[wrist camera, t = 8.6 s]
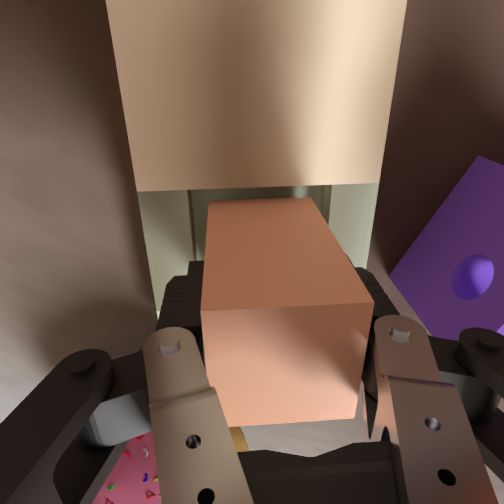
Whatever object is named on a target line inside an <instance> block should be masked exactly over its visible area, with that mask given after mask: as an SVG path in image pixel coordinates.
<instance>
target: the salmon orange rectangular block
mask: <svg viewBox="0 0 504 504" xmlns="http://www.w3.org/2000/svg"><path fill="white" fill-rule="evenodd" d="M373 308H374V300H373V299H372V297H371V295H370V294H369V292H368V290H367V289H366V287H365V285H364V284H363V282H362V281H361V279H360V277H359V276H358V274H357V272H356V271H355V269H354V267H353V266H352V264H351V262H350V261H349V259H348V257H347V256H346V254H345V252H344V251H343V249H342V248H341V246H340V244H339V243H338V241H337V239H336V238H335V236H334V234H333V233H332V231H331V229H330V228H329V226H328V224H327V223H326V221H325V219H324V218H323V216H322V215H321V213H320V211H319V210H318V208H317V206H316V205H315V203H314V201H313V200H312V198H311V197H301V198H274V199H246V200H218V201H209V206H208V219H207V232H206V245H205V258H204V272H203V285H202V298H201V311H200V312H201V322H202V333H203V343H204V354H205V365H206V374H207V377H208V380H209V384H210V386H211V387H212V386H214V387H215V389H216V392H217V394H218V397H219V400H220V403H221V406H222V409H223V412H224V415H225V418H226V421H227V424H228V427H239V426H253V425H267V424H280V423H294V422H308V421H322V420H336V419H350V418H354V417H355V411H356V405H357V399H358V394H359V388H360V382H361V377H362V371H363V365H364V360H365V354H366V348H367V342H368V337H369V331H370V325H371V320H372V314H373Z"/></svg>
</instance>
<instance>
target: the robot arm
mask: <svg viewBox="0 0 504 504" xmlns="http://www.w3.org/2000/svg"><path fill="white" fill-rule="evenodd" d="M346 256H347V254H346ZM347 257H348V256H347ZM348 259H349V257H348ZM349 261H350V262H351V260H350V259H349ZM351 264H352V262H351ZM352 266H353V267H354V265H353V264H352ZM354 269H355V271H356V272H357V274H358V276H359V277H360V279H361V281H362V282H363V284H364V285H365V287H366V289H367V290H368V292H369V294H370V295H371V297H372V299H373V300H374V308H373V314H372V320H371V325H370V331H369V337H368V342H367V348H366V354H365V360H364V365H363V371H362V377H361V379H362V381H363V390H362V405H363V418H364V431H365V442H362V443H352V444H350V445H347V446H344V447H341V448H338V449H336V450H333V451H330V452H327V453H324V454H322V455H319V456H316V457H304V456H298V455H293V454H287V453H281V452H275V451H269V450H257V451H244V452H237V451H236V448H235V445H234V442H233V439H232V436H231V433H230V430H229V427H228V424H227V421H226V418H225V415H224V412H223V409H222V406H221V403H220V400H219V397H218V394H217V392H216V389H215V387H214V386H212V387H211V386H210V384H209V380H208V377H207V374H206V365H205V354H204V343H203V333H202V322H201V312H200V311H201V298H202V285H203V272H204V260H199V261H189V265H188V272H187V275H181V276H174V277H173V278H172V279H171V280H170V281H169V282H168V283H167V284H166V288H165V292H164V296H163V301H162V305H161V309H160V314H159V318H158V323H157V327H156V331H155V332H154V333H153V334H151V335H150V336H149V337H148V338H147V339H146V340H145V342H144V344H143V349H141V350H140V351H138V352H136V353H133V354H131V355H128V356H124V357H121V358H117V359H114V360H111V357H110V355H109V354H108V353H107V352H105V351H103V350H99V349H86V350H82V351H78V352H75V353H73V354H71V355H69V356H68V357H66V358H65V359H63V360H62V361H61V362H60V363H59V364H58V365H57V366H56V367H55V368H54V369H53V370H52V371H51V372H50V373H49V374H48V375H47V376H46V377H45V378H44V379H43V380H42V381H41V382H40V383H39V384H38V385H37V386H36V387H35V389H34V390H33V391H32V392H31V393H30V394H29V395H28V396H27V397H26V398H25V399H24V400H23V401H22V402H21V403H20V404H19V405H18V406H17V407H16V408H15V409H14V410H13V411H12V412H11V413H10V414H9V416H8V417H7V418H6V419H5V420H4V421H3V422H2V423H1V424H0V504H92V503H93V501H94V499H95V497H96V496H97V494H98V492H99V491H100V489H101V487H102V486H103V484H104V482H105V481H106V479H107V477H108V476H109V474H110V472H111V471H112V469H113V467H114V466H115V464H116V462H117V461H118V459H119V457H120V455H121V454H122V452H123V450H124V449H125V447H126V445H127V443H128V441H129V439H132V438H135V437H137V436H140V435H143V434H145V433H148V432H151V431H152V434H153V441H154V449H155V457H156V464H157V472H158V480H159V488H160V495H161V503H162V504H499V503H498V501H497V498H496V495H495V492H494V489H493V487H492V484H491V481H490V478H489V476H488V473H487V470H486V467H485V465H484V463H485V464H486V465H487V466H488V467H489V468H490V469H491V470H492V471H493V472H494V473H495V474H496V475H497V476H498V477H499V478H500V479H501V480H502V481H503V482H504V413H503V412H502V411H501V410H500V409H499V408H497V406H498V404H499V402H500V400H501V397H502V398H504V335H502V334H500V333H498V332H495V331H493V330H489V329H485V328H479V327H472V328H467V329H464V330H463V331H461V333H460V334H459V338H458V341H457V340H450V339H444V338H438V337H433V336H429V335H427V333H426V331H425V329H424V328H423V327H422V326H421V325H420V324H419V323H418V322H416V321H414V320H412V319H410V318H408V317H405V316H401V315H400V314H399V312H398V311H397V309H396V308H395V306H394V305H393V303H392V302H391V300H390V299H389V298H388V296H387V295H386V293H384V290H383V289H382V287H381V286H380V285H379V283H378V281H377V280H376V278H375V277H374V275H373V274H371V273H370V272H369V271H367V270H366V269H364V268H363V267H354Z"/></svg>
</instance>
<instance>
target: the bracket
mask: <svg viewBox="0 0 504 504" xmlns="http://www.w3.org/2000/svg"><path fill="white" fill-rule="evenodd" d="M389 278H390V279H391V280H392V282H393V283H394V285H395V286H396V287H397V289H398V290H399V291H400V293H401V294H402V295H403V297H404V298H405V299H406V301H407V302H408V303H409V305H410V306H411V308H412V309H413V310H414V312H415V313H416V314H417V316H418V317H419V318H420V320H421V321H422V322H423V324H424V325H425V326H426V328H427V329H428V331H429V332H430V333H431V335H432V336H433V337H438V338H444V339H450V340H457V341H458V338H459V334H460V333H461V331H463V330H464V329H467V328H472V327H479V328H485V329H489V330H493V331H495V332H498V333H500V334H502V335H504V165H502V164H499V163H497V162H494V161H492V160H489V159H487V158H484V157H482V156H480V155H478V157H477V158H476V159H475V161H474V162H473V163H472V165H471V166H470V167H469V169H468V170H467V171H466V173H465V174H464V175H463V177H462V178H461V179H460V181H459V182H458V183H457V185H456V186H455V187H454V189H453V190H452V192H451V193H450V194H449V196H448V197H447V198H446V200H445V201H444V202H443V204H442V205H441V206H440V208H439V209H438V210H437V212H436V213H435V214H434V216H433V217H432V218H431V220H430V221H429V222H428V224H427V225H426V226H425V228H424V229H423V231H422V232H421V233H420V235H419V236H418V237H417V239H416V240H415V241H414V243H413V244H412V245H411V247H410V248H409V249H408V251H407V252H406V253H405V255H404V256H403V257H402V259H401V260H400V261H399V263H398V264H397V265H396V267H395V268H394V270H393V271H392V272H391V274H390V275H389Z"/></svg>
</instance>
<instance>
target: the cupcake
mask: <svg viewBox="0 0 504 504" xmlns="http://www.w3.org/2000/svg"><path fill="white" fill-rule="evenodd" d="M229 430H230V433H231V436H232V439H233V442H234V445H235V448H236V451H237V452H244V451H249V448H248V445H247V443H246V440H245V437H244V434H243V432H242V430H241V428H240V427H229ZM92 504H162V503H161V495H160V488H159V480H158V472H157V464H156V457H155V449H154V441H153V434H152V431H151V432H148V433H145V434H143V435H140V436H137V437H135V438H132V439H129V441H128V443H127V445H126V447H125V449H124V450H123V452H122V454H121V455H120V457H119V459H118V461H117V462H116V464H115V466H114V467H113V469H112V471H111V472H110V474H109V476H108V477H107V479H106V481H105V482H104V484H103V486H102V487H101V489H100V491H99V492H98V494H97V496H96V497H95V499H94V501H93V503H92Z"/></svg>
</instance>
